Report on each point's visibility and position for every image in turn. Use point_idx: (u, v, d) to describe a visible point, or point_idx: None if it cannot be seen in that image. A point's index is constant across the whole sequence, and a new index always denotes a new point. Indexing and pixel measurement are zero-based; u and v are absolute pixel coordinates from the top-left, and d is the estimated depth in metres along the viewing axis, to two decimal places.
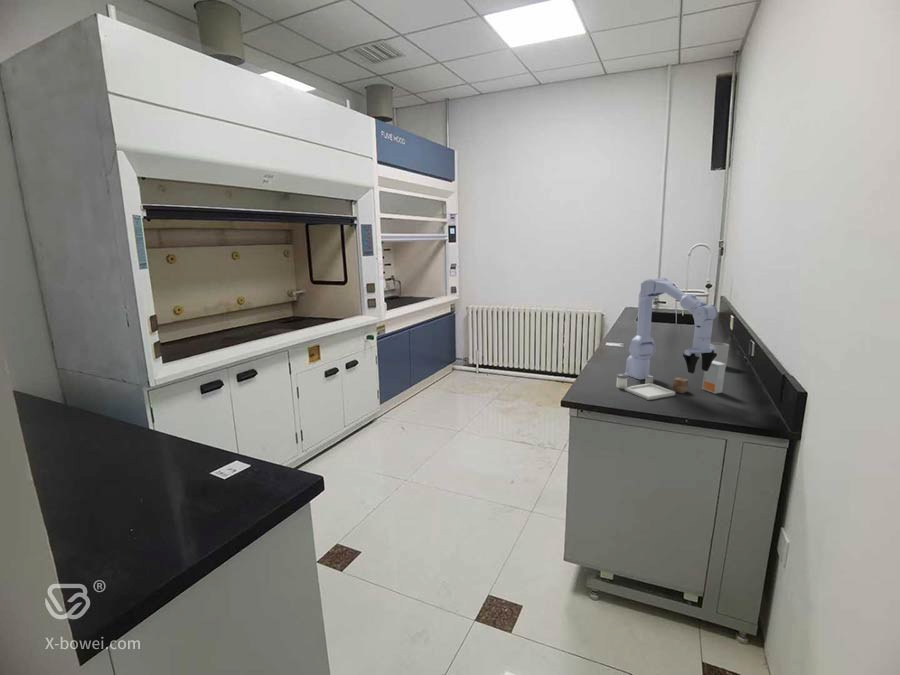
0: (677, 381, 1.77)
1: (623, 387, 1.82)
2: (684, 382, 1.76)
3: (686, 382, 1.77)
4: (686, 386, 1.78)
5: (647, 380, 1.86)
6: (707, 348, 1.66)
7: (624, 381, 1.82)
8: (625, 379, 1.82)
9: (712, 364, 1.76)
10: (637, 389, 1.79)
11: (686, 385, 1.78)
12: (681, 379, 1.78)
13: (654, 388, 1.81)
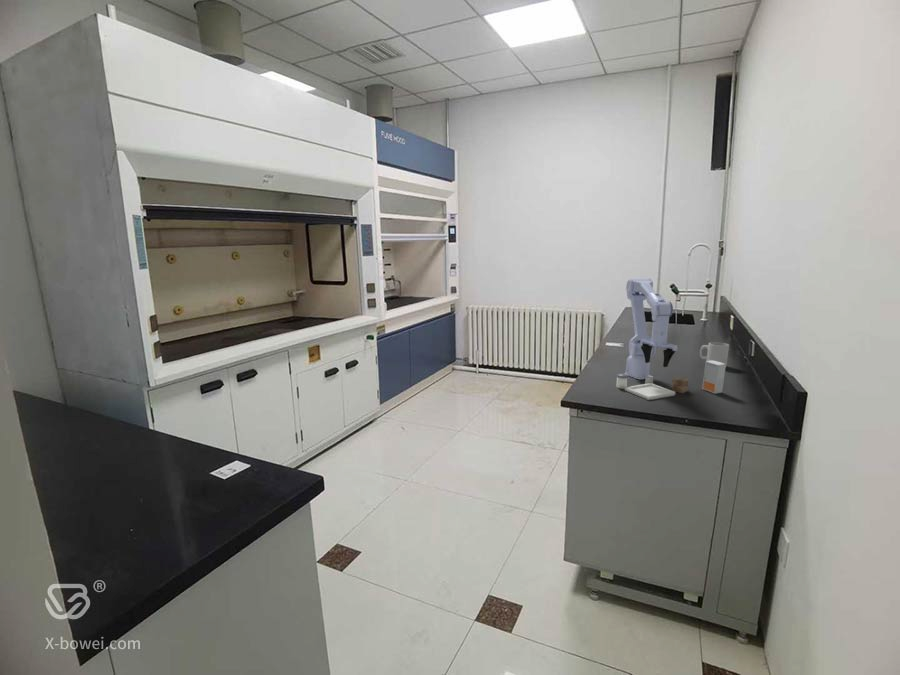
0: (677, 381, 1.77)
1: (623, 387, 1.82)
2: (684, 382, 1.76)
3: (686, 382, 1.77)
4: (686, 386, 1.78)
5: (647, 380, 1.86)
6: (654, 342, 1.78)
7: (624, 381, 1.82)
8: (625, 379, 1.82)
9: (712, 364, 1.76)
10: (637, 389, 1.79)
11: (686, 385, 1.78)
12: (681, 379, 1.78)
13: (654, 388, 1.81)
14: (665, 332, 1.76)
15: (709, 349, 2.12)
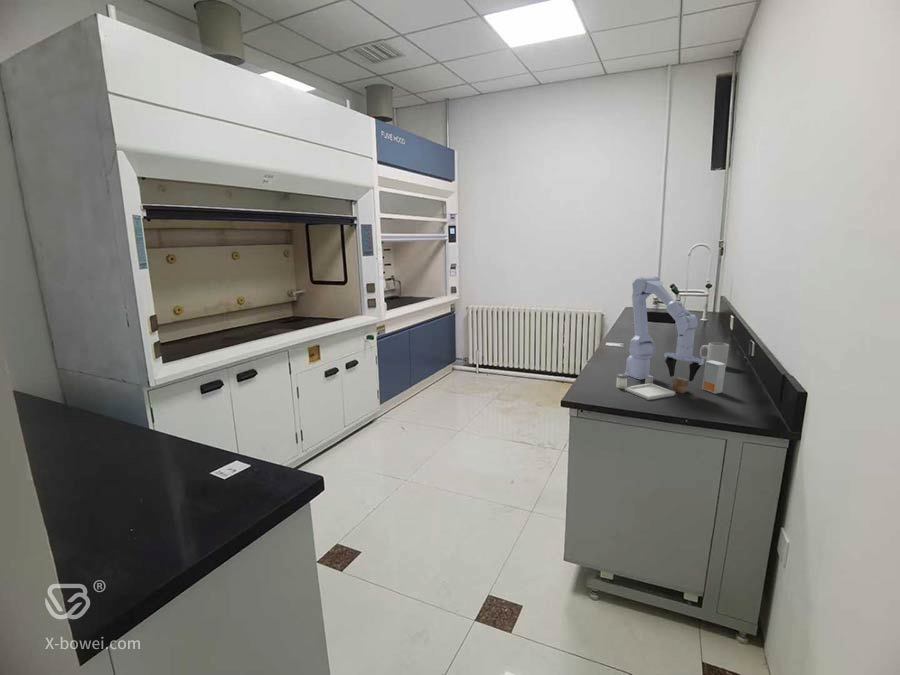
0: (677, 381, 1.77)
1: (623, 387, 1.82)
2: (684, 382, 1.76)
3: (686, 382, 1.77)
4: (686, 386, 1.78)
5: (647, 380, 1.86)
6: (680, 355, 1.74)
7: (624, 381, 1.82)
8: (625, 379, 1.82)
9: (712, 364, 1.76)
10: (637, 389, 1.79)
11: (686, 385, 1.78)
12: (681, 379, 1.78)
13: (654, 388, 1.81)
14: (692, 345, 1.73)
15: (709, 349, 2.12)
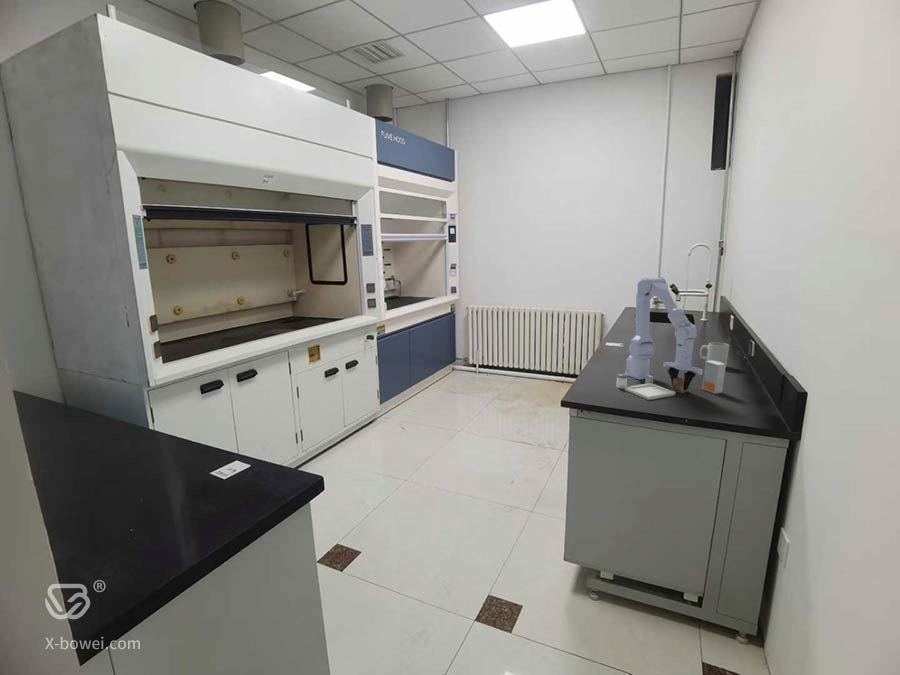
0: (677, 381, 1.77)
1: (623, 387, 1.82)
2: (684, 382, 1.76)
3: None
4: None
5: (647, 380, 1.86)
6: (679, 365, 1.75)
7: (624, 381, 1.82)
8: (625, 379, 1.82)
9: (712, 364, 1.76)
10: (637, 389, 1.79)
11: None
12: (681, 379, 1.78)
13: (654, 388, 1.81)
14: (691, 355, 1.74)
15: (709, 349, 2.12)
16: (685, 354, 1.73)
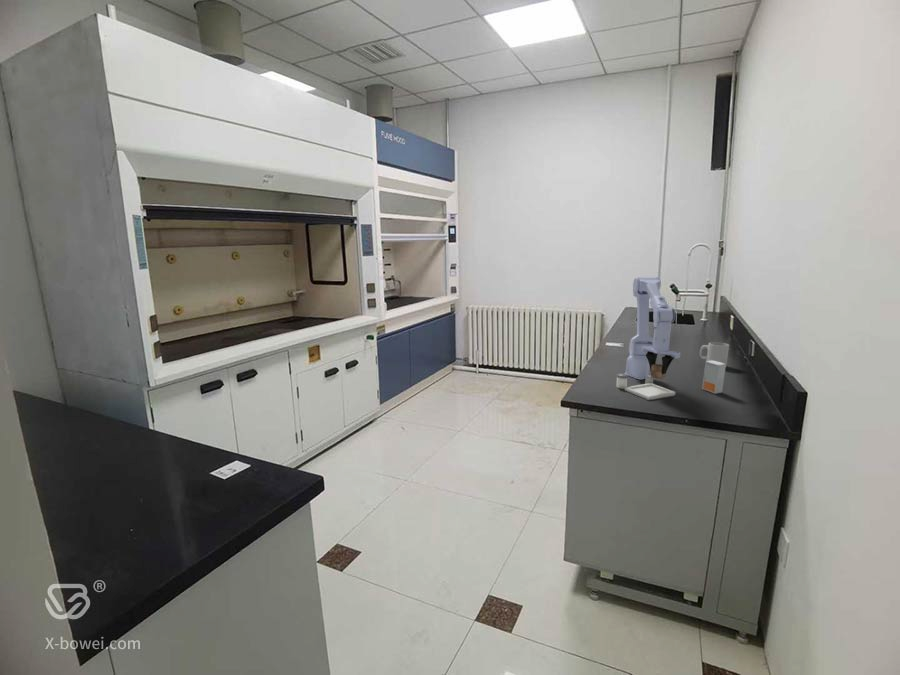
0: (655, 367, 1.74)
1: (623, 387, 1.82)
2: None
3: None
4: None
5: (647, 380, 1.86)
6: (656, 349, 1.72)
7: (624, 381, 1.82)
8: (625, 379, 1.82)
9: (712, 364, 1.76)
10: (637, 389, 1.79)
11: None
12: (659, 365, 1.75)
13: (654, 388, 1.81)
14: (667, 339, 1.70)
15: (709, 349, 2.12)
16: (658, 337, 1.71)
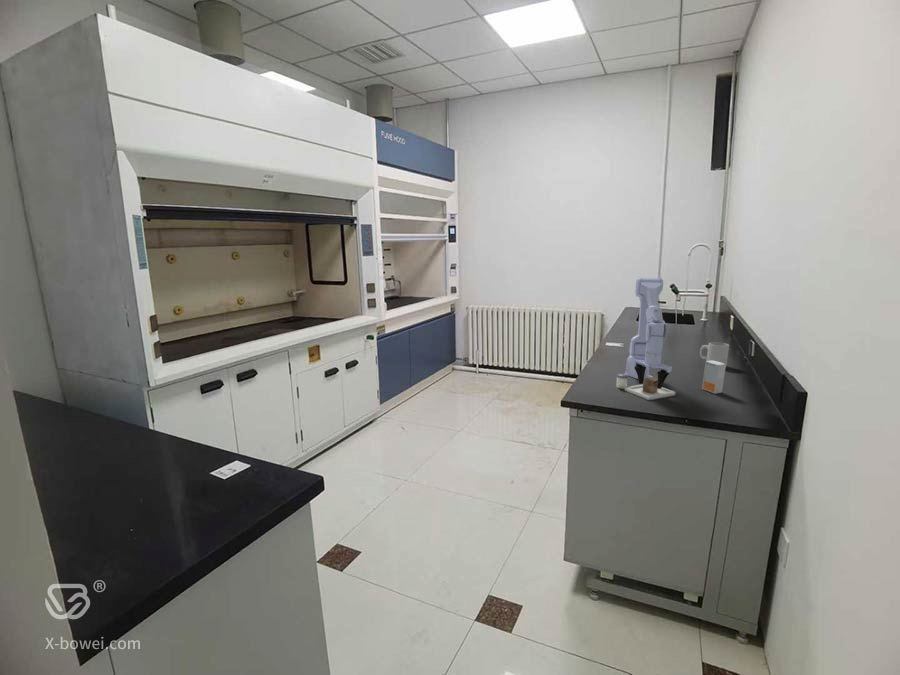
0: (647, 381, 1.75)
1: (623, 387, 1.82)
2: (654, 382, 1.74)
3: (656, 382, 1.75)
4: (656, 386, 1.76)
5: None
6: (648, 363, 1.73)
7: (624, 381, 1.82)
8: (625, 379, 1.82)
9: (712, 364, 1.76)
10: (637, 389, 1.79)
11: (656, 385, 1.75)
12: (651, 379, 1.76)
13: None
14: (658, 353, 1.71)
15: (709, 349, 2.12)
16: (649, 351, 1.72)
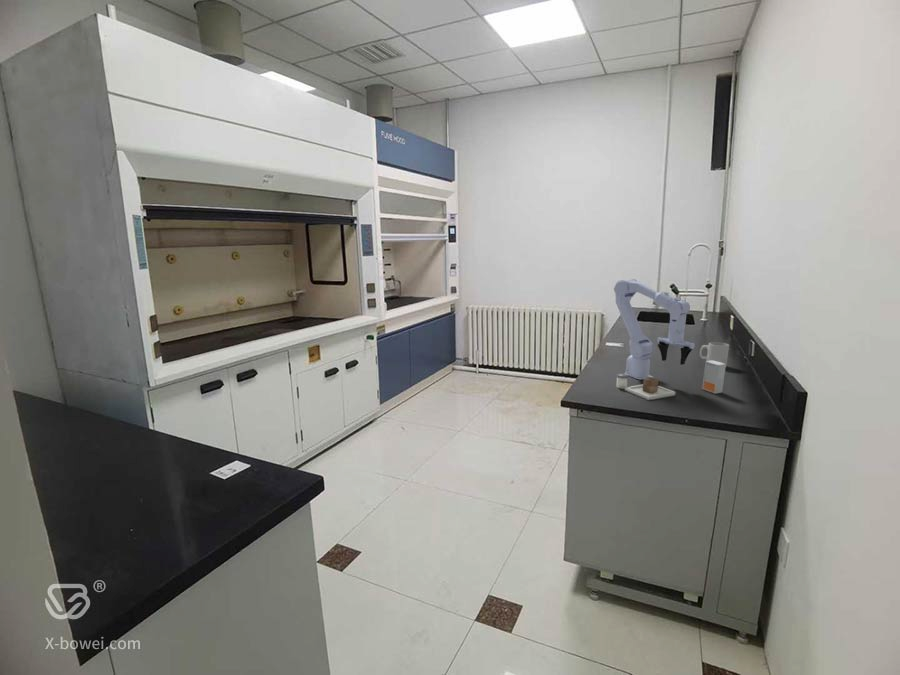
0: (647, 381, 1.75)
1: (623, 387, 1.82)
2: (654, 382, 1.74)
3: (656, 382, 1.75)
4: (656, 386, 1.76)
5: None
6: (671, 340, 1.81)
7: (624, 381, 1.82)
8: (625, 379, 1.82)
9: (712, 364, 1.76)
10: (637, 389, 1.79)
11: (656, 385, 1.75)
12: (651, 379, 1.76)
13: None
14: (684, 330, 1.80)
15: (709, 349, 2.12)
16: (679, 329, 1.79)
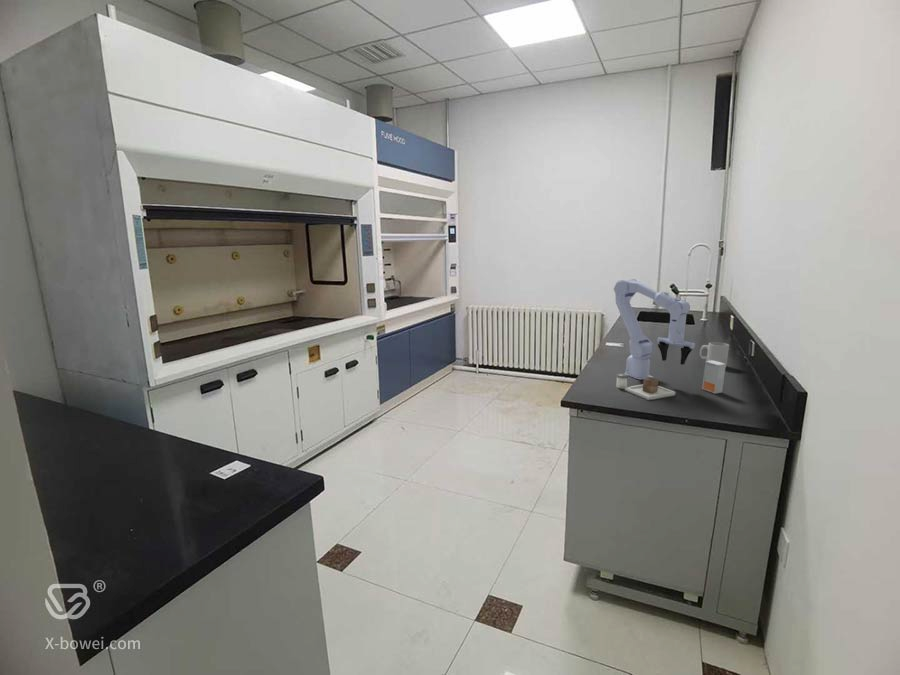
0: (647, 381, 1.75)
1: (623, 387, 1.82)
2: (654, 382, 1.74)
3: (656, 382, 1.75)
4: (656, 386, 1.76)
5: None
6: (672, 340, 1.81)
7: (624, 381, 1.82)
8: (625, 379, 1.82)
9: (712, 364, 1.76)
10: (637, 389, 1.79)
11: (656, 385, 1.75)
12: (651, 379, 1.76)
13: None
14: (684, 330, 1.80)
15: (709, 349, 2.12)
16: (679, 329, 1.79)
